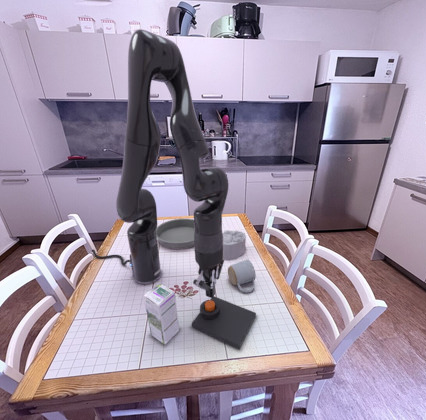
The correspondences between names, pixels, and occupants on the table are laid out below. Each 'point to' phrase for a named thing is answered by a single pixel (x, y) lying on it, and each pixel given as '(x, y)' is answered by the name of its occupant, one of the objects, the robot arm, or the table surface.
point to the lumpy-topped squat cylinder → (233, 244)
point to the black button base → (225, 322)
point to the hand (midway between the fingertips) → (210, 295)
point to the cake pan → (176, 233)
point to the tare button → (209, 306)
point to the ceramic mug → (242, 274)
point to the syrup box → (162, 313)
